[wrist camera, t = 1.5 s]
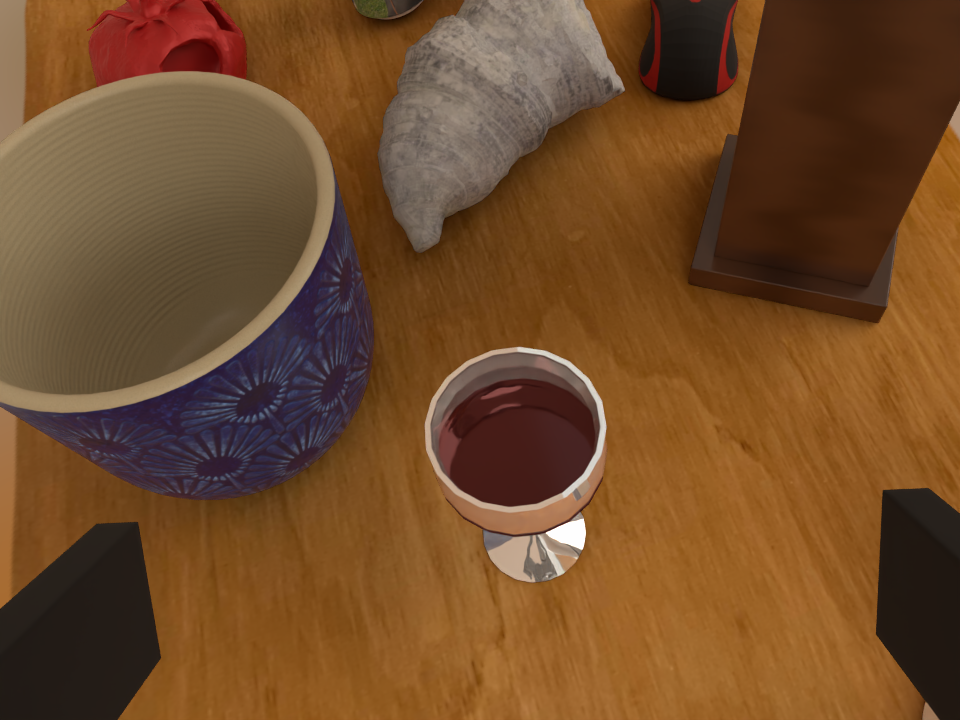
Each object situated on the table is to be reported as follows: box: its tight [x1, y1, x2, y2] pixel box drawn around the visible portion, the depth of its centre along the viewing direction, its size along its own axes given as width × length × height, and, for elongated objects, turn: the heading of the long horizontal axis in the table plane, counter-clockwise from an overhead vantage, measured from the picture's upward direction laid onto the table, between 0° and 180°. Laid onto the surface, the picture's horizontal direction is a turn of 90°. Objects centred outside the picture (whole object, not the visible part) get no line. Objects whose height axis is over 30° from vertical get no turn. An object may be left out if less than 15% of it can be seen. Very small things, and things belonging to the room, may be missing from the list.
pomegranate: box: [87, 0, 247, 87], centre depth 56 cm, size 10×10×9 cm
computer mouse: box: [639, 0, 738, 100], centre depth 55 cm, size 6×11×4 cm, turn 170°
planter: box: [0, 71, 374, 500], centre depth 41 cm, size 17×17×15 cm
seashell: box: [378, 0, 625, 253], centre depth 50 cm, size 16×15×10 cm
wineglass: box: [425, 347, 607, 582], centre depth 37 cm, size 7×7×12 cm
